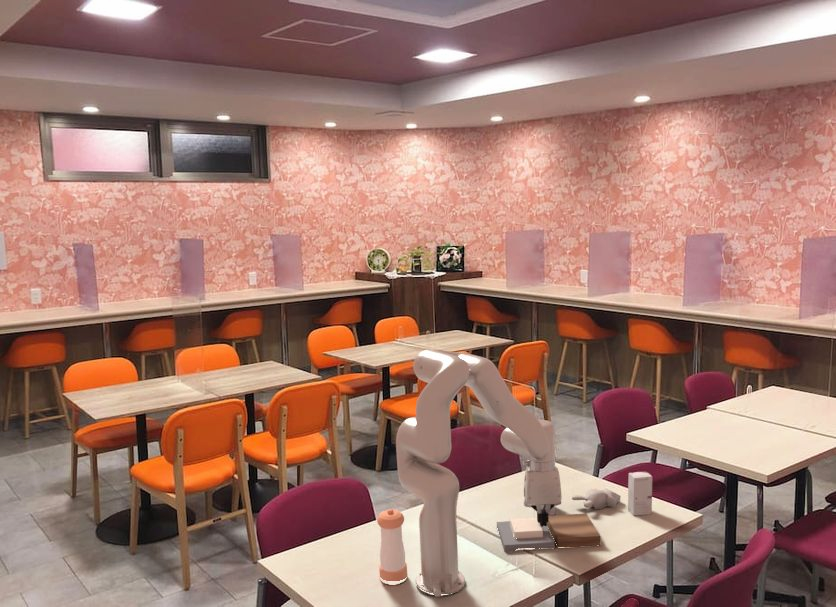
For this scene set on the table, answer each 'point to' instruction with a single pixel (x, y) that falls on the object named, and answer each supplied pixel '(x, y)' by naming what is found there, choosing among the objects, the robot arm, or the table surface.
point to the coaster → (526, 528)
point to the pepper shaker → (392, 546)
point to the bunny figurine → (599, 498)
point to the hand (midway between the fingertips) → (542, 524)
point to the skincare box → (640, 493)
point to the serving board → (573, 530)
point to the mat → (523, 539)
